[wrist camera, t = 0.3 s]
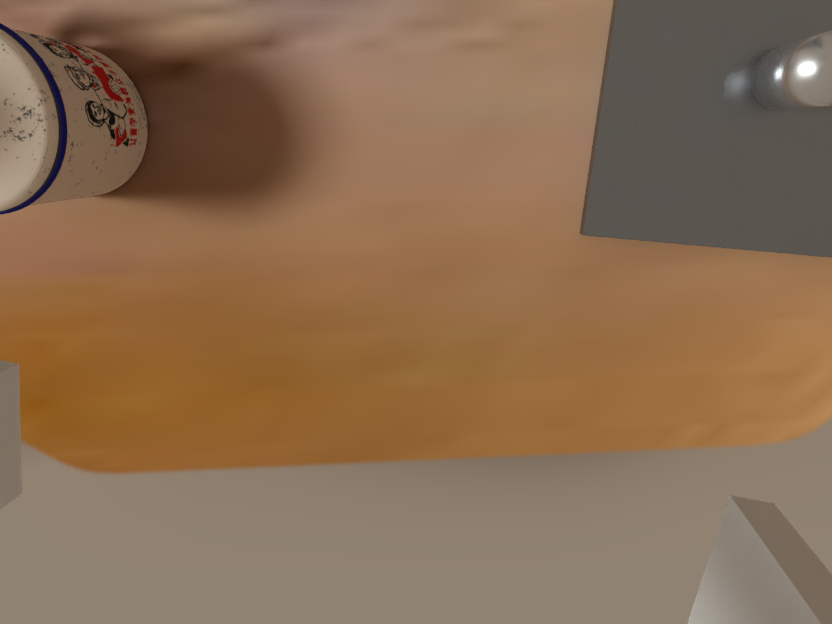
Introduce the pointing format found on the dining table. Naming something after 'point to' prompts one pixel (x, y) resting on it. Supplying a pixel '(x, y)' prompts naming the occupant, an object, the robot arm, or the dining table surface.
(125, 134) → the teacup with lid
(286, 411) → the dining table surface
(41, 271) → the dining table surface
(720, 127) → the panel
